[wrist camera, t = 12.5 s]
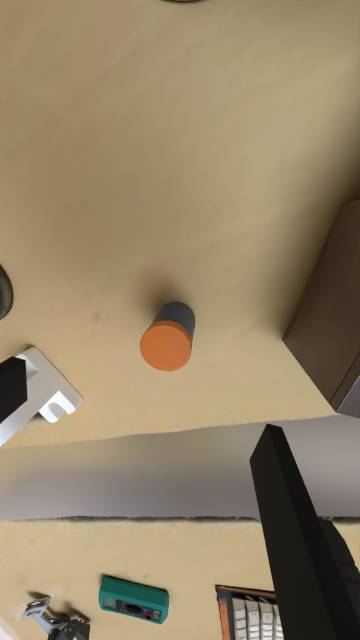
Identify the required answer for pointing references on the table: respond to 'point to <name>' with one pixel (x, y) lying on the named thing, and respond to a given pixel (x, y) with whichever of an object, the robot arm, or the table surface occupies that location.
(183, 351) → the glue stick
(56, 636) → the bicycle component
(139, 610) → the digital multimeter
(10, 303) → the container
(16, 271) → the table surface
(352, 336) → the cabinet
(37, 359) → the cable organizer
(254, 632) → the mechanical keyboard
